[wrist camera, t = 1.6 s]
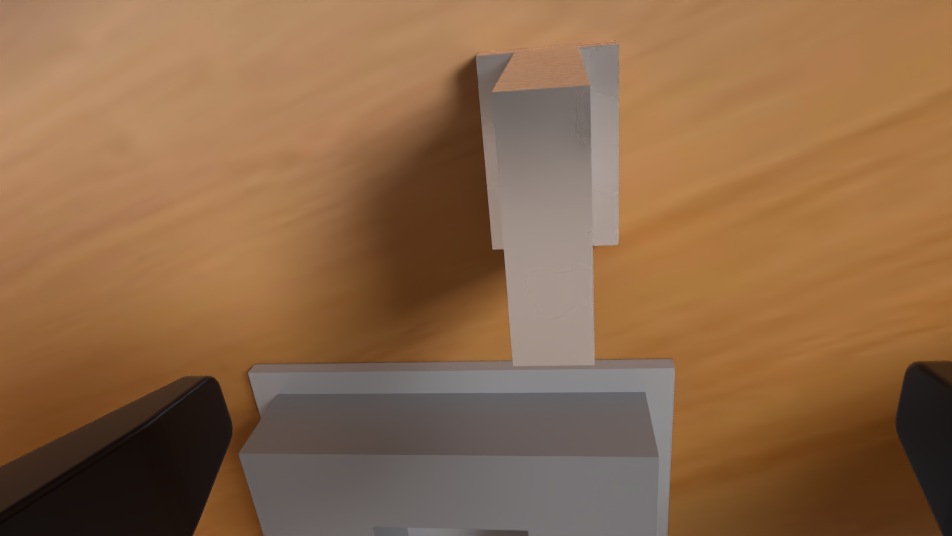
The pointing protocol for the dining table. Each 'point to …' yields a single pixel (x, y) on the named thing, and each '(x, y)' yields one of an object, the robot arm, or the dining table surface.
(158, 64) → the dining table surface
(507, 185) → the brushed grey block
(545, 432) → the well block
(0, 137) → the dining table surface
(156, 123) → the dining table surface
